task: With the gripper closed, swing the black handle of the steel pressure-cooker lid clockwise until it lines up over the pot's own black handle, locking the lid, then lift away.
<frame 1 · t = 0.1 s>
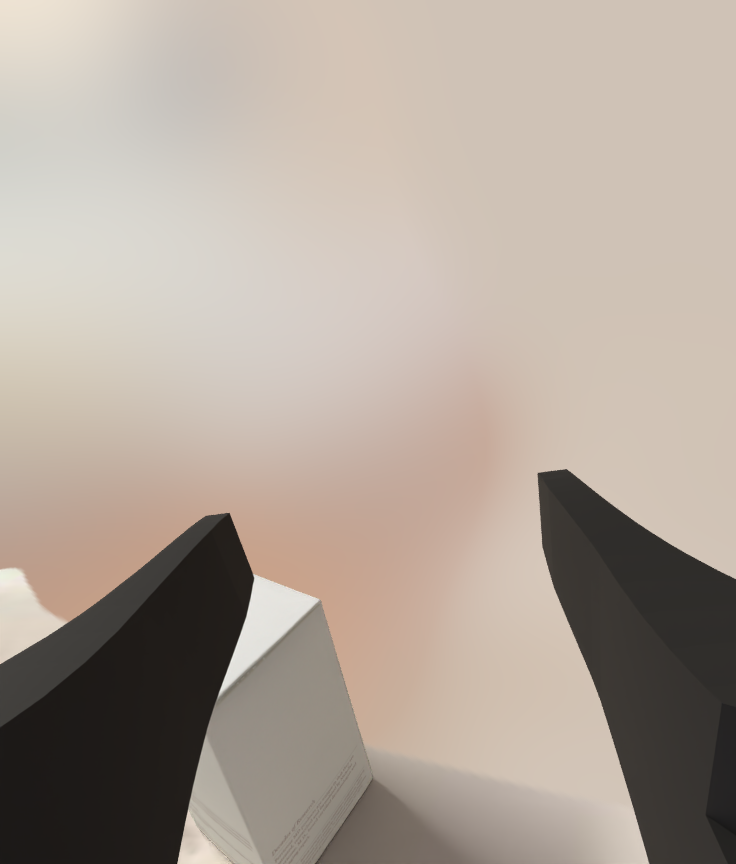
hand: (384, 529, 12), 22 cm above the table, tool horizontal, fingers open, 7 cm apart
supplement box: (287, 804, 29), on the table
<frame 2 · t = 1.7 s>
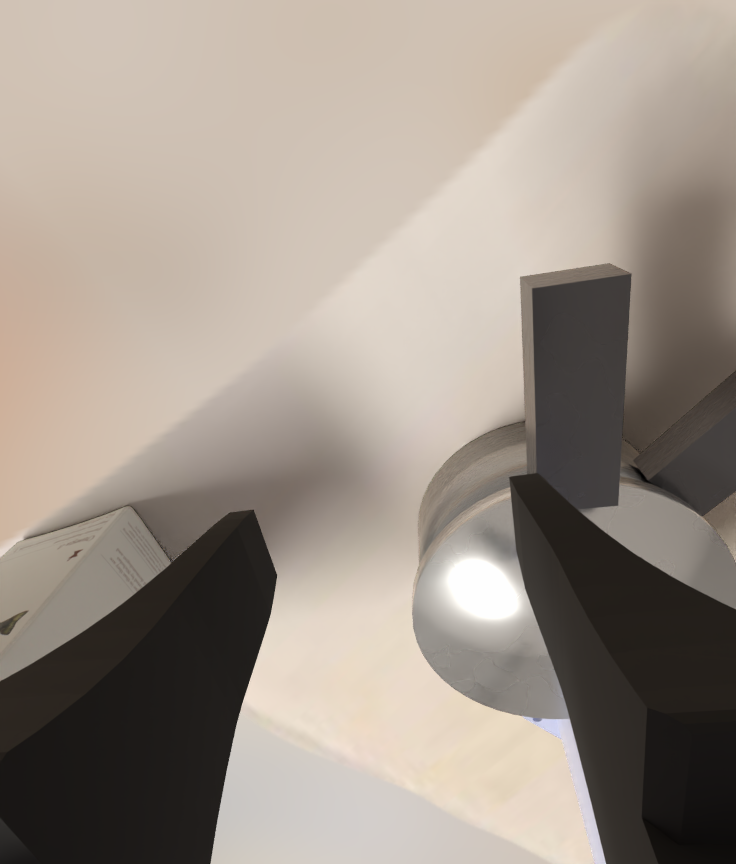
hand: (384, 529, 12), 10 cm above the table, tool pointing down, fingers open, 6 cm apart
pot: (536, 525, 24), on the table
supplement box: (114, 570, 28), on the table
lid: (570, 549, 18), point 6 cm above the table, hinge at 45.0°
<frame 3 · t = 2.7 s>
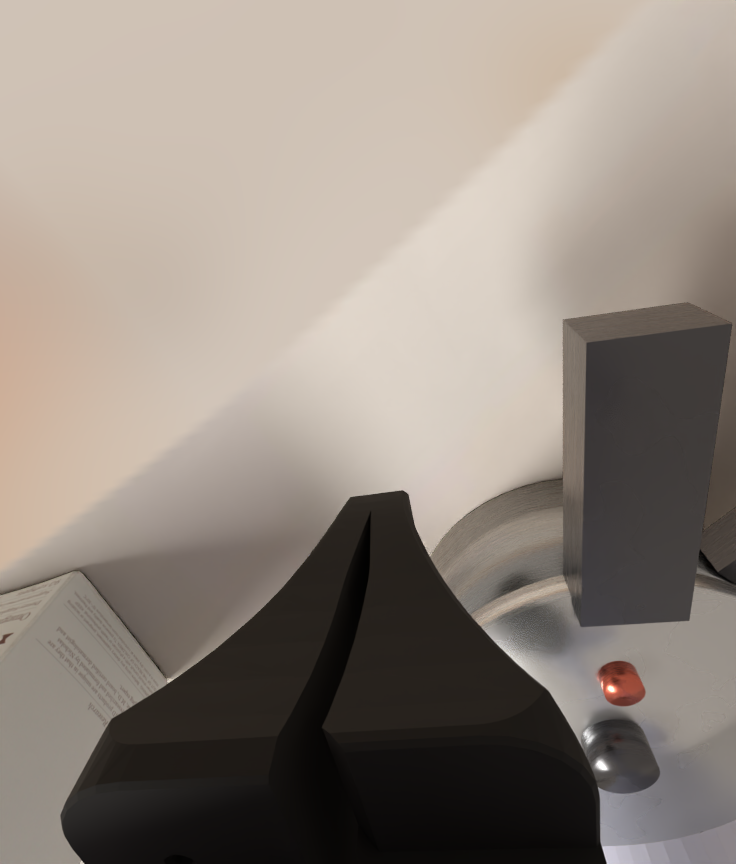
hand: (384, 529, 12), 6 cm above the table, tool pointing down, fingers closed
pot: (562, 598, 20), on the table
supplement box: (65, 639, 24), on the table
lid: (619, 662, 14), point 6 cm above the table, hinge at 45.0°
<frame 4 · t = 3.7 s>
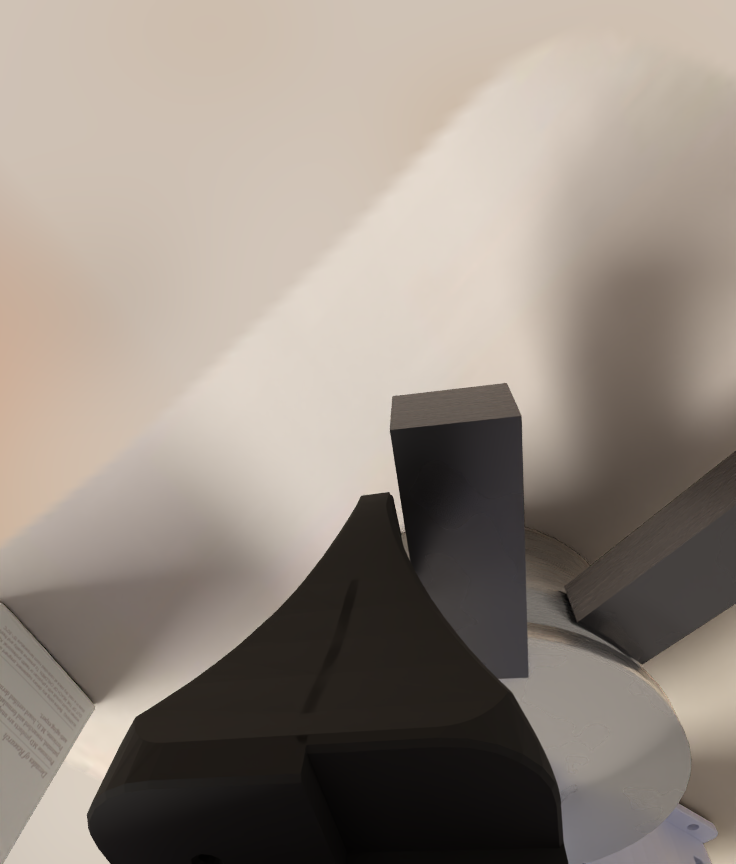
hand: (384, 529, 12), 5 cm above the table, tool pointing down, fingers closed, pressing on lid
pot: (467, 631, 21), on the table
lid: (479, 710, 14), point 6 cm above the table, hinge at 44.7°, touching gripper
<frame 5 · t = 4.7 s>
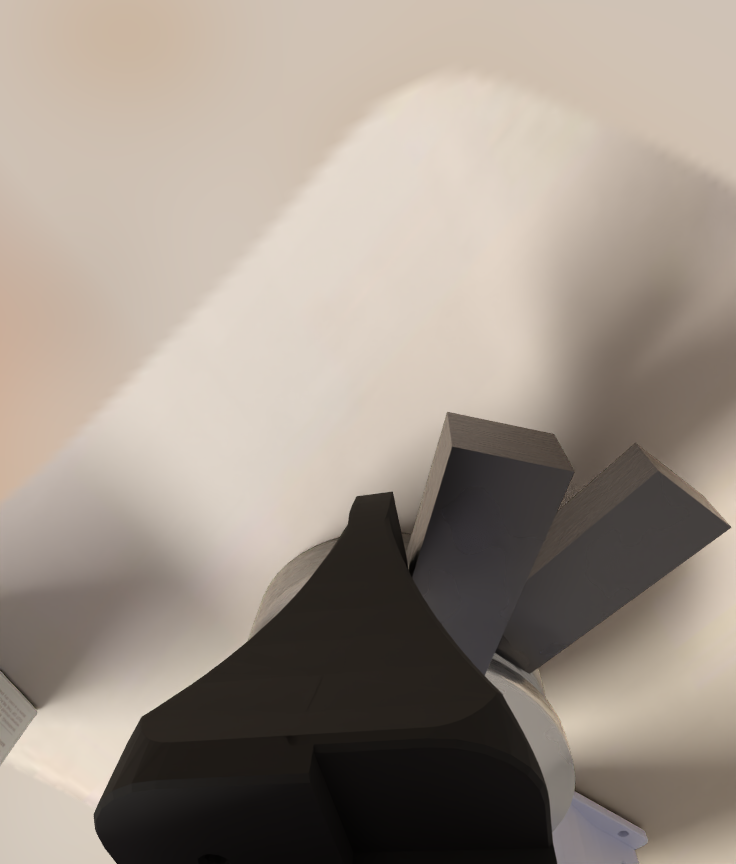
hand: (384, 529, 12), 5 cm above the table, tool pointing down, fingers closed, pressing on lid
pot: (390, 640, 21), on the table
lid: (407, 721, 15), point 6 cm above the table, hinge at 24.9°, touching gripper
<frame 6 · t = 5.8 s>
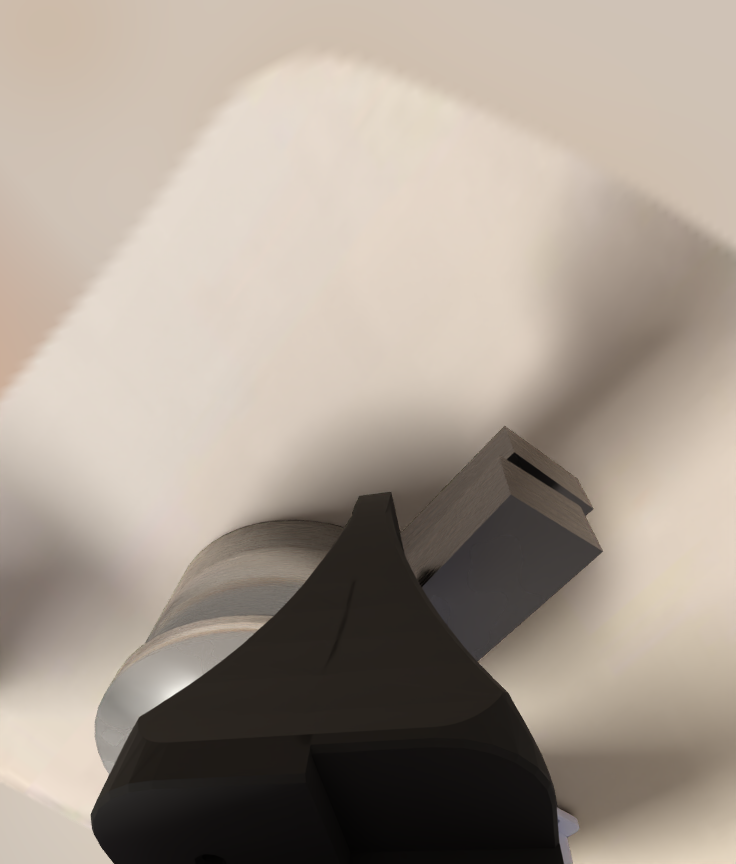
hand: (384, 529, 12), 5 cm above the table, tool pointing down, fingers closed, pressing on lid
pot: (308, 629, 21), on the table
lid: (330, 719, 15), point 6 cm above the table, hinge at 2.9°, touching gripper
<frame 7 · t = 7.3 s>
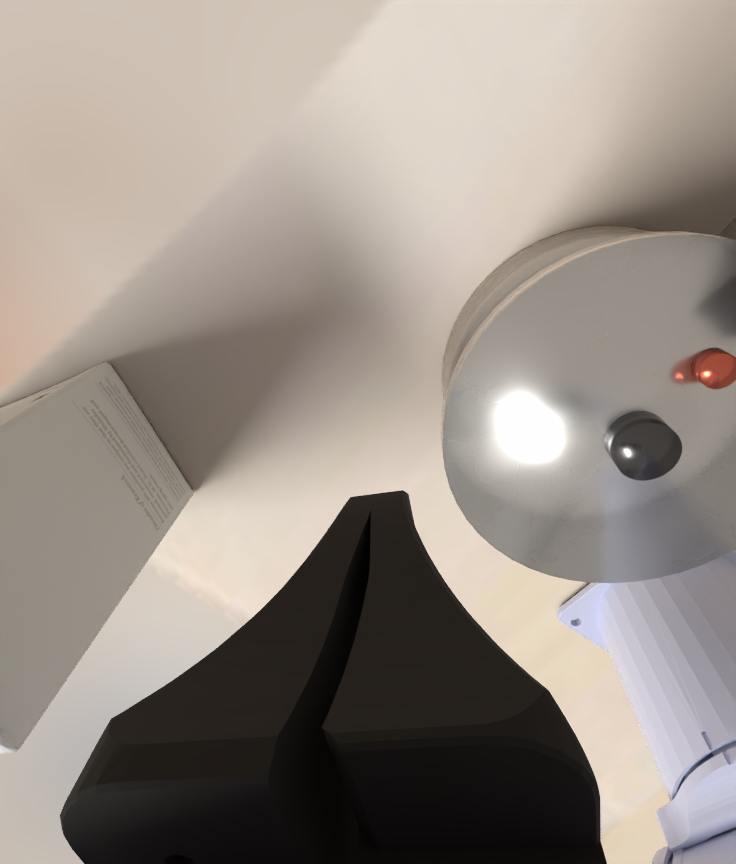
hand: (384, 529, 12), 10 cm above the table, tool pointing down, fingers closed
pot: (580, 373, 21), on the table
supplement box: (93, 450, 24), on the table
lid: (727, 350, 14), point 6 cm above the table, hinge at 2.8°
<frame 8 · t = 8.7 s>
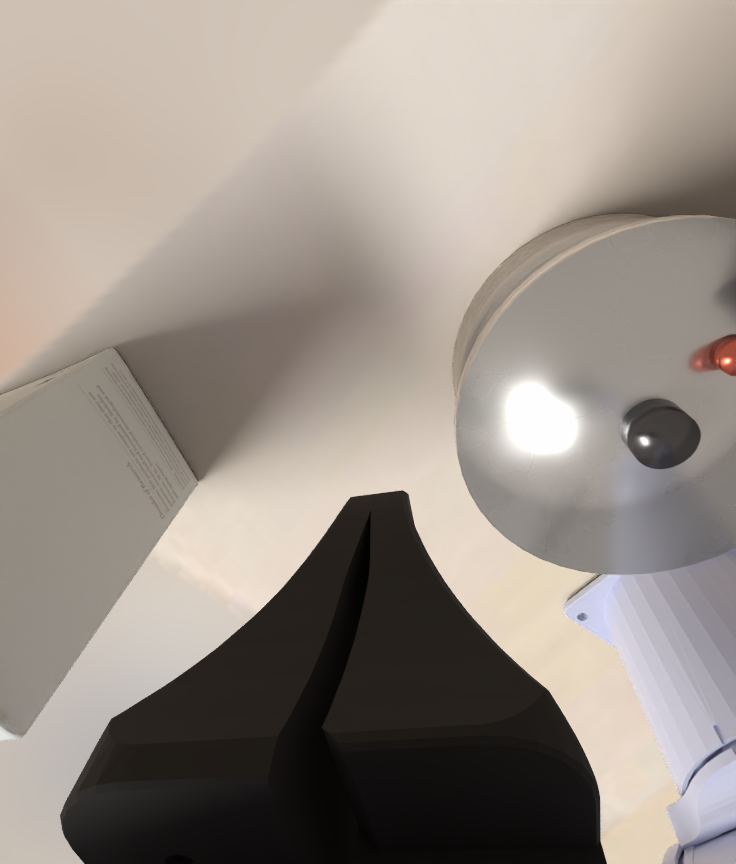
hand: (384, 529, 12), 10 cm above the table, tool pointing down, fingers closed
pot: (592, 363, 20), on the table
supplement box: (97, 438, 24), on the table
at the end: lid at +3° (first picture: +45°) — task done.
